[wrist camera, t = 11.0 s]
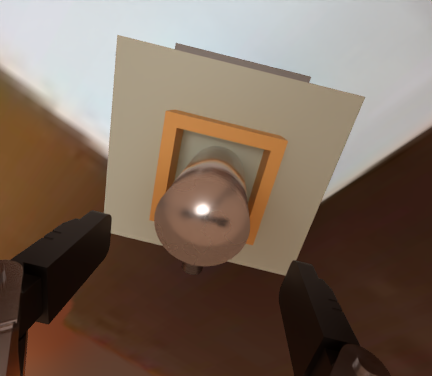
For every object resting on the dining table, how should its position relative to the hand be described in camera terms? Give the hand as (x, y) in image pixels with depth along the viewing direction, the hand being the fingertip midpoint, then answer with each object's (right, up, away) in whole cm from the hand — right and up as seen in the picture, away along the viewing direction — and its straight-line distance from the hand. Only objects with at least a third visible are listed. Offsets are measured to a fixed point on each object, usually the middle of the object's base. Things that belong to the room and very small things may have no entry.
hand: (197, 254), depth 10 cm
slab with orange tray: (+1, +7, +18) cm, 19 cm away
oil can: (+1, +3, +12) cm, 12 cm away
